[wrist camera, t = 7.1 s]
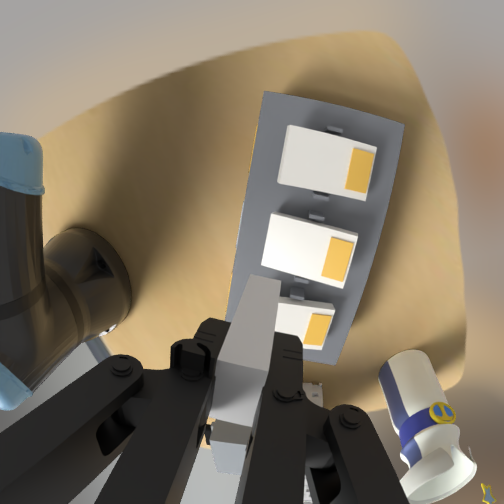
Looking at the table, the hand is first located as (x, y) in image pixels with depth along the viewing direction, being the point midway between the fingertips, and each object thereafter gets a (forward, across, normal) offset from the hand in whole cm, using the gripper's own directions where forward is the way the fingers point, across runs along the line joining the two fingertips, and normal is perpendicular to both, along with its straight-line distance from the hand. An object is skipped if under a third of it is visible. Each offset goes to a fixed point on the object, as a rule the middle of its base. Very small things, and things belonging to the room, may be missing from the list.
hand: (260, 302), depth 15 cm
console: (+18, +3, 0) cm, 18 cm away
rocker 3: (+11, +3, -7) cm, 13 cm away
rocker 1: (+11, +3, +7) cm, 13 cm away
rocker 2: (+11, +3, 0) cm, 11 cm away
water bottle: (+18, +21, -16) cm, 32 cm away
